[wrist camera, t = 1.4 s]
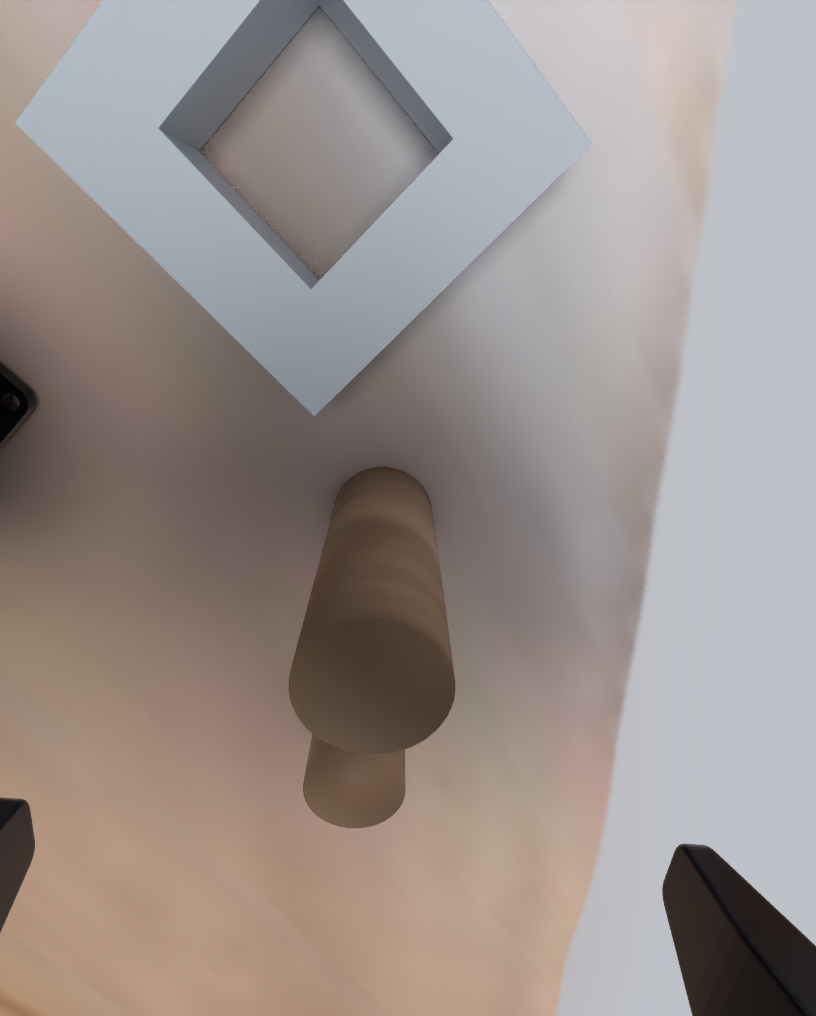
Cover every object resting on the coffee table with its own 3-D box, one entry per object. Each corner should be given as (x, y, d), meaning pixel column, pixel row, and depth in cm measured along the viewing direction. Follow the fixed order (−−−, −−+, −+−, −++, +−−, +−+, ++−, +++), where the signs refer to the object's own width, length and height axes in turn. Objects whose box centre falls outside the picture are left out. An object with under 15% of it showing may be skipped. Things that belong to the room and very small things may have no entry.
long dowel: (382, 575, 21) (371, 779, 13) (314, 512, 20) (254, 687, 12) (452, 514, 20) (489, 690, 12) (384, 446, 19) (373, 585, 11)
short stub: (361, 753, 24) (354, 843, 20) (300, 705, 23) (282, 789, 19) (421, 706, 23) (426, 790, 19) (361, 654, 22) (353, 732, 19)
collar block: (326, 394, 19) (314, 416, 16) (80, 147, 16) (14, 123, 14) (559, 164, 17) (592, 143, 14) (316, -162, 14) (295, -266, 11)
